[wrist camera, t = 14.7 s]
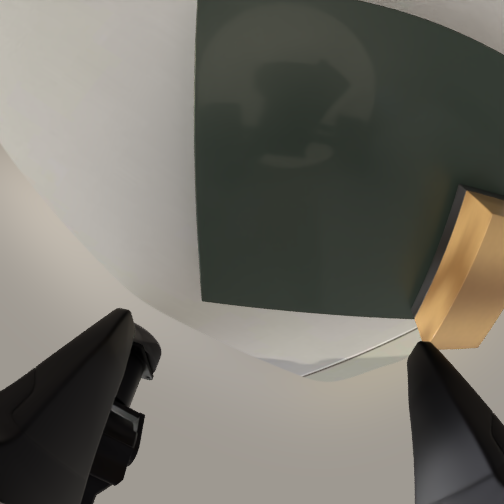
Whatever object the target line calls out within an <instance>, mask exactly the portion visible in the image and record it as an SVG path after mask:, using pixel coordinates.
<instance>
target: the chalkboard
mask: <svg viewBox="0 0 504 504" xmlns="http://www.w3.org/2000/svg"><path fill="white" fill-rule="evenodd" d="M194 157H195V192H196V217H197V236H198V254H199V269H200V283H201V296H202V301H205V302H212V303H220V304H228V305H237V306H246V307H255V308H264V309H274V310H284V311H295V312H306V313H318V314H331V315H345V316H360V317H378V318H399V319H415V318H414V316H413V313H412V311H411V308H412V306H413V304H414V302H415V300H416V298H417V295H418V293H419V291H420V289H421V287H422V284H423V282H424V280H425V278H426V275H427V273H428V270H429V268H430V266H431V263H432V261H433V258H434V256H435V253H436V251H437V248H438V245H439V243H440V240H441V237H442V235H443V232H444V229H445V226H446V223H447V220H448V217H449V214H450V211H451V208H452V205H453V202H454V199H455V195H456V192H457V189H458V185H459V184H462V185H466V186H470V187H474V188H477V189H481V190H485V191H488V192H492V193H495V194H498V195H502V196H504V55H503V54H501V53H499V52H497V51H496V50H494V49H492V48H490V47H488V46H486V45H484V44H482V43H480V42H478V41H476V40H474V39H472V38H470V37H468V36H465V35H463V34H461V33H459V32H456V31H454V30H452V29H449V28H447V27H444V26H442V25H439V24H437V23H434V22H431V21H429V20H426V19H423V18H420V17H417V16H414V15H411V14H408V13H405V12H401V11H398V10H395V9H391V8H387V7H384V6H380V5H376V4H372V3H367V2H363V1H358V0H197V17H196V38H195V71H194Z"/></svg>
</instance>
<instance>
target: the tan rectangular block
mask: <svg viewBox="0 0 504 504" xmlns="http://www.w3.org/2000/svg"><path fill="white" fill-rule="evenodd" d="M503 309H504V196H502V195H498V194H495V193H492V192H488V191H485V190H481V189H477V188H474V187H470V186H466V185H462V184H459V185H458V189H457V192H456V195H455V199H454V202H453V205H452V208H451V211H450V214H449V217H448V220H447V223H446V226H445V229H444V232H443V235H442V237H441V240H440V243H439V245H438V248H437V251H436V253H435V256H434V258H433V261H432V263H431V266H430V268H429V270H428V273H427V275H426V278H425V280H424V282H423V284H422V287H421V289H420V291H419V293H418V295H417V298H416V300H415V302H414V304H413V306H412V308H411V311H412V313H413V316H414V318H415V322H416V324H417V327H418V330H419V333H420V336H421V339H422V341H429V342H431V343H432V344H433V345H434V346H435V347H436V348H437V349H438V350H441V349H466V348H478V347H479V345H480V344H481V342H482V341H483V339H484V338H485V337H486V335H487V333H488V332H489V331H490V329H491V328H492V326H493V325H494V323H495V322H496V320H497V319H498V317H499V315H500V314H501V312H502V311H503Z"/></svg>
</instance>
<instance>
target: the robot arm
mask: <svg viewBox="0 0 504 504" xmlns="http://www.w3.org/2000/svg"><path fill="white" fill-rule="evenodd" d="M134 336H135V325H134V322H133V318H132V315H131V312H130V311H129V310H126V309H122V308H117V309H115V310H114V311H112V312H111V313H109V314H108V315H107V316H105V317H104V318H102V319H101V320H100V321H98V322H97V323H95V324H94V325H93V326H91V327H90V328H88V329H87V330H86V331H84V332H83V333H81V334H80V335H79V336H77V337H76V338H75V339H73V340H72V341H71V342H69V343H68V344H66V345H65V346H64V347H62V348H61V349H59V350H58V351H57V352H56V353H54V354H52V355H51V356H50V357H49V358H47V359H46V360H44V361H43V362H42V363H40V364H39V365H38V366H36V368H34V369H33V370H31V371H30V372H28V373H27V374H25V375H24V376H23V377H21V378H20V379H18V380H17V381H16V382H14V383H13V384H11V385H10V386H8V387H6V388H5V389H3V390H2V391H0V504H93V503H94V500H95V497H96V495H97V494H99V493H100V492H102V491H104V490H105V489H107V488H108V487H110V486H111V485H114V486H115V485H117V484H118V483H120V482H121V481H122V480H123V478H124V475H125V471H126V467H127V466H129V465H130V464H131V463H132V462H133V460H134V459H135V457H136V455H137V452H138V449H139V445H140V440H141V434H142V429H143V423H144V418H145V415H144V414H142V413H138V412H136V411H135V410H133V409H131V408H129V407H130V405H131V402H132V399H133V397H134V394H135V392H136V389H137V387H138V384H139V381H140V379H141V378H144V379H147V380H152V379H153V374H152V371H151V368H150V365H149V362H148V360H147V357H146V354H145V351H144V348H143V346H142V345H141V344H139V343H135V342H133V340H134ZM407 371H408V396H409V411H410V420H411V430H412V441H413V455H414V476H415V504H504V425H503V424H502V423H501V421H500V420H499V419H498V418H497V416H496V415H495V414H494V413H493V412H492V410H491V409H490V408H489V407H488V406H487V404H486V403H485V402H484V401H483V400H482V399H481V397H480V396H479V395H478V394H477V393H476V392H475V390H474V389H473V388H472V387H471V386H470V385H469V383H468V382H467V381H466V380H465V379H464V378H463V377H462V375H461V374H460V373H459V372H458V371H457V370H456V369H455V368H454V366H453V365H452V364H451V363H450V362H449V361H448V360H447V359H446V358H445V357H444V356H443V354H442V353H441V352H440V351H439V350H438V349H437V348H436V347H435V346H434V345H433V344H432V343H431V342H429V341H420V342H418V343H417V344H416V346H415V348H414V349H413V351H412V352H411V354H410V355H409V357H408V361H407Z"/></svg>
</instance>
